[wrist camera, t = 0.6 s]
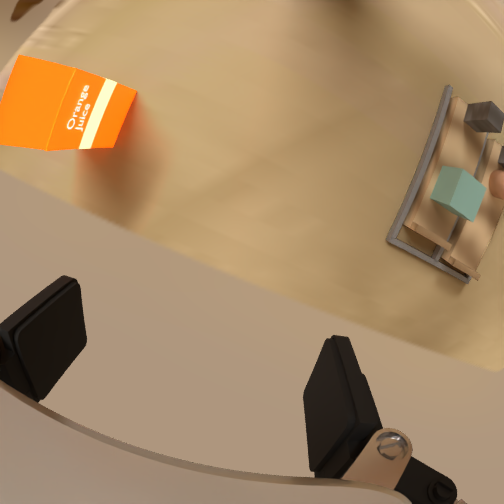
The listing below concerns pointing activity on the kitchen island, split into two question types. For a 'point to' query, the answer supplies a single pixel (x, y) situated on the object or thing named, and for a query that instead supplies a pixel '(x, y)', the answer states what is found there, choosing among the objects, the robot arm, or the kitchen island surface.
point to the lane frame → (414, 188)
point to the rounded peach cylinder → (497, 184)
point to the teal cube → (458, 192)
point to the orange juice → (61, 107)
